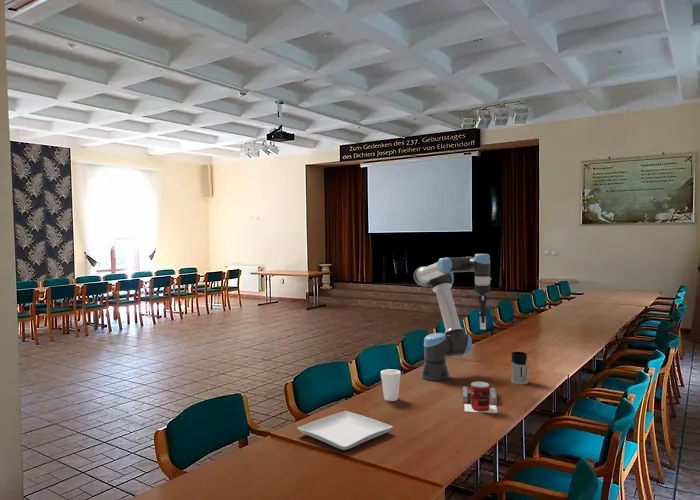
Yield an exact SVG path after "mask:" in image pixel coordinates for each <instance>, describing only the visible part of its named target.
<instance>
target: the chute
mask: <svg viewBox="0 0 700 500" xmlns="http://www.w3.org/2000/svg"><path fill="white" fill-rule="evenodd" d="M489 395H490V399H491V403H492V404H490V408H489V410H487V411H477V410H474V409H472V406H471V403H468V400H469V399H468V386H462V403H464V410H463V411H464V412H465V413H469V412H470V413H485V414H486V413H487V414H499V413H498V408H497V405H498V397H497V392H496V388H495V387H489Z"/></svg>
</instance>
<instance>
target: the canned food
mask: <svg viewBox="0 0 700 500" xmlns="http://www.w3.org/2000/svg"><path fill="white" fill-rule="evenodd" d="M470 391H471V394H470V395H471V398H470V399H471V400H470V401H471V403H470V404H471V406H472V409H474V410H477V411H487V410H489V408H490V405H491V404H490V383H488V382H485V381H472V382H471V384H470Z"/></svg>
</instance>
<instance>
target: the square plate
mask: <svg viewBox="0 0 700 500" xmlns="http://www.w3.org/2000/svg"><path fill="white" fill-rule="evenodd" d="M393 427H394V426H393V425H391V424H389V423H388V424H387V423H384V422H383V421H381V420H377V419H375V418H370V417H367V416H365V415H361V414H358V413H354V412H351V411H349V410H348V411H347V410H343V411H340V412H337V413H334V414H330V415H328V416H324V417H321V418H319V419H317V420H313V421H311V422H308V423H306V424H303V425H301V426H298V427H297V430H299V432H301V433H302V434H303V435H305V436H308V437H311V438H313V439H316V440H318V441H320V442H323V443H324V444H328V445H329V446H332V447H333V448H336V449H338V450H343V451H347V450H349V449H352V448H355V447H358V446H359V445H361V444H363V443H365V442H368V441H370V440H373V439H375V438H378V437H380V436H382V435H385V434H386V433H388V432H389V431H391V430H392V429H393Z"/></svg>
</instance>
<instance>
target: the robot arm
mask: <svg viewBox="0 0 700 500" xmlns="http://www.w3.org/2000/svg"><path fill="white" fill-rule="evenodd" d="M490 258H491V256H490V254H488V253H476V254H474V256H465V257H464V256H461V257H443V258H442V257H441V258H439V259H438V261H437V262H435V263H433V264H430V265H428V266H427V265H426V266H420V267H418V268H416V269H415V271H414V272H413V279H414V281H415V283H416V284H417V285H419V286H421V287H426V288H427V287H431V290H432V291H433V292H434V293H435V294H436V298H437V303H438V306H439V310H440V314H441V317H442V322H443V325H444V328H445V331H444V333H443V332H435V333H430V334H427V335H426V336H425V337H424V339H423V342H424V343H423V346H424V347H423V351H424V354H423V355H424V363H423V366H422V370H421V378H422V379H424V380H427V381H432V382H433V381H435V382H438V381H439V382H440V381H441V382H442V381H446V380H449V379H450V372H449V368H448V365H447V358H452V357H453V358H454V357H463V356H467V355H469V354H470V353H471V351H472V348H473V340H472V339H473V338H472V337H471V334H470V333H466V331H465V328H463V327H461V323H460V320H459V316H458V312H457V307H456V305H455V301H454V298H453V294H452V290H451V289H452V287H453V284H454V282H455V281H454V280H455V276H454V273H466V272H467V273H468V272H472V273H473V272H474V284H475V285H474V293H475V294H476V293H477V294H479V295H478V304H479V314H478V317H479V329H480V330H483V331H484V330H487V321H486V320H487V318H486V317H487V313H486V312H487V308H486V306H487V300H488V298H487V295H486V294H490V293H491V285H490V284H491V281H492V278H491V259H490Z"/></svg>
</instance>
